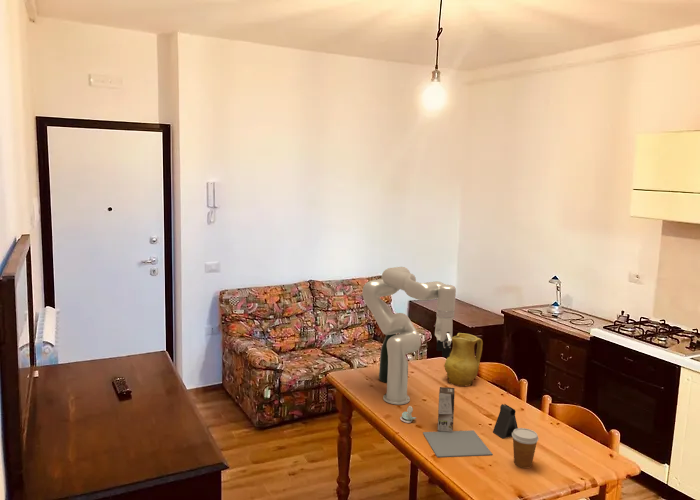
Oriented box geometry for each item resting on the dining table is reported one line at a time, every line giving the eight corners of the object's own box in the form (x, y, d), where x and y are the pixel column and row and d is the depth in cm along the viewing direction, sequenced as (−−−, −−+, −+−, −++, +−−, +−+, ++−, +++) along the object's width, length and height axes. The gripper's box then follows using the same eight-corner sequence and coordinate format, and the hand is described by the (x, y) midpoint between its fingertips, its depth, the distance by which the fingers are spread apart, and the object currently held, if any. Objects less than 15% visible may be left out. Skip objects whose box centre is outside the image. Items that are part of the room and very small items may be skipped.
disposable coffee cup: (506, 456, 212) (509, 426, 210) (531, 457, 212) (534, 428, 210) (513, 469, 203) (515, 438, 201) (539, 470, 202) (542, 439, 201)
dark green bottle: (377, 376, 293) (380, 315, 289) (396, 376, 294) (399, 315, 290) (380, 383, 283) (383, 320, 279) (400, 383, 284) (403, 320, 280)
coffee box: (452, 432, 229) (454, 394, 228) (437, 430, 231) (438, 392, 230) (453, 424, 238) (454, 387, 237) (438, 422, 240) (439, 386, 238)
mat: (422, 433, 229) (422, 432, 229) (473, 431, 232) (473, 430, 232) (437, 457, 209) (437, 456, 209) (492, 455, 213) (492, 453, 213)
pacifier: (406, 425, 237) (418, 422, 240) (407, 411, 236) (418, 408, 239) (396, 418, 243) (408, 415, 246) (397, 405, 242) (408, 402, 245)
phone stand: (509, 429, 236) (511, 402, 234) (519, 435, 230) (521, 407, 229) (492, 432, 232) (494, 405, 231) (501, 438, 227) (504, 410, 225)
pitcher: (442, 373, 299) (447, 329, 295) (477, 378, 297) (483, 333, 293) (443, 386, 283) (448, 339, 278) (480, 391, 280) (486, 344, 276)
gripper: (431, 308, 245) (428, 347, 248) (443, 319, 228) (440, 360, 231) (447, 308, 246) (444, 347, 249) (460, 319, 229) (458, 360, 232)
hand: (442, 353), depth 240 cm, fingers open, 7 cm apart
